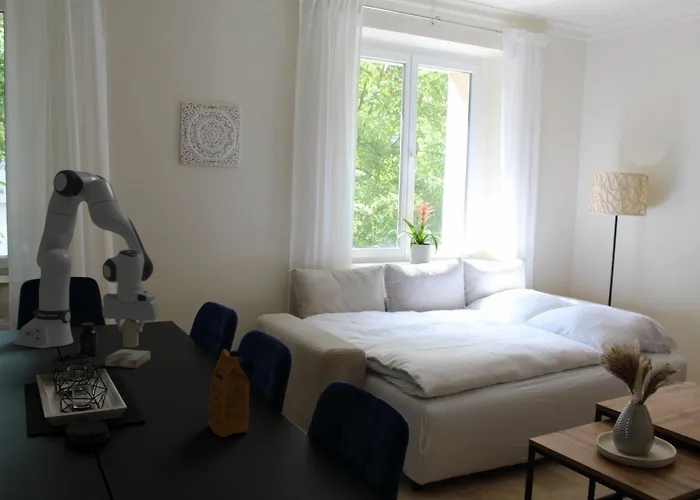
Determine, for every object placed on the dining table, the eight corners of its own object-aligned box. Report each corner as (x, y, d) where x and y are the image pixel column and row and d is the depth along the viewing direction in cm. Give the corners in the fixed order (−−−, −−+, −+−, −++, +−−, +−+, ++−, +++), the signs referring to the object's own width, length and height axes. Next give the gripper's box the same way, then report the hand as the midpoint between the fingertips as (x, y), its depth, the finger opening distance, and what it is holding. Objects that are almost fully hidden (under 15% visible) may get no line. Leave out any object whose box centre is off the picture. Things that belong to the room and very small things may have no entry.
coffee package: (236, 419, 192) (238, 345, 189) (252, 434, 181) (254, 356, 178) (203, 424, 187) (205, 349, 184) (217, 440, 176) (219, 360, 174)
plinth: (105, 365, 238) (105, 356, 238) (120, 356, 250) (120, 348, 250) (136, 367, 237) (136, 359, 236) (150, 359, 249) (150, 350, 248)
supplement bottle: (100, 352, 254) (100, 322, 253) (92, 357, 248) (92, 326, 246) (84, 351, 255) (84, 321, 254) (75, 356, 248) (74, 325, 247)
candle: (134, 347, 240) (133, 321, 239) (120, 346, 241) (119, 320, 240) (141, 343, 246) (140, 317, 244) (127, 342, 247) (127, 317, 245)
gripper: (98, 294, 239) (99, 331, 241) (152, 297, 237) (153, 334, 239) (107, 291, 245) (107, 327, 247) (159, 294, 243) (160, 330, 245)
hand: (130, 331), depth 243 cm, fingers closed on candle, 5 cm apart
